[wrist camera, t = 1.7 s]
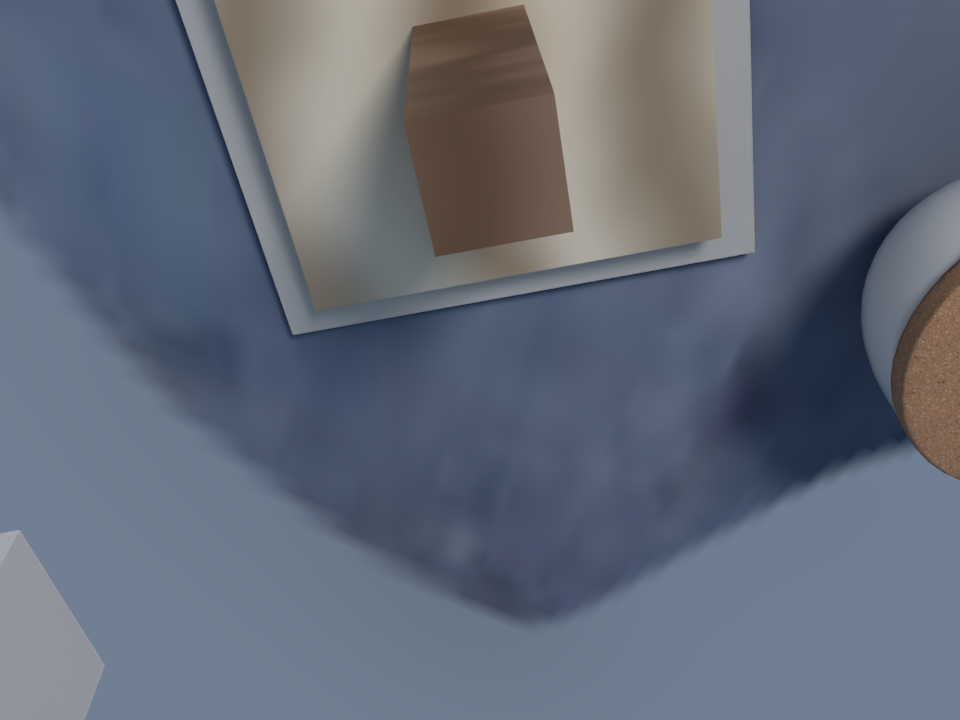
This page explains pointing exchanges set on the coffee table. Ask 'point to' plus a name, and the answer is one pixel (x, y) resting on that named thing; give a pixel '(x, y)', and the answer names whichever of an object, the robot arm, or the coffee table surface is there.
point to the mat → (303, 317)
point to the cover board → (371, 162)
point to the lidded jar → (919, 325)
